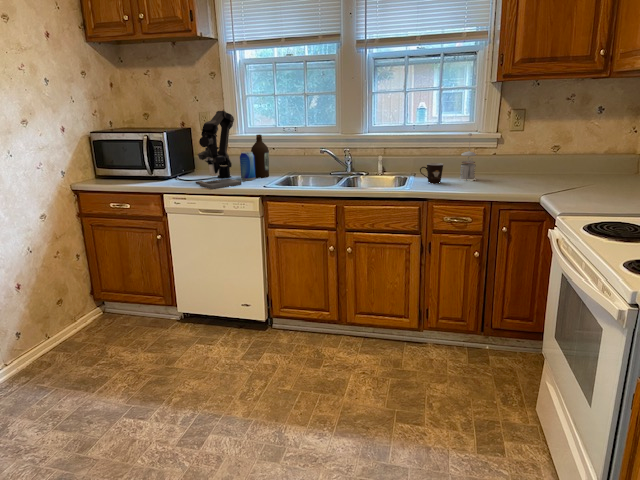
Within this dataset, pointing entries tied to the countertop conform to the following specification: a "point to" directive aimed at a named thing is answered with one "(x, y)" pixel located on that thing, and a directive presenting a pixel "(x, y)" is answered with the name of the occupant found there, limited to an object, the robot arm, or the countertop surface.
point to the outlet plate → (220, 183)
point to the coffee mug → (433, 172)
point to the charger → (212, 170)
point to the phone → (199, 182)
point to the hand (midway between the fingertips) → (214, 172)
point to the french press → (468, 165)
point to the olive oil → (261, 158)
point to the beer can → (247, 166)
